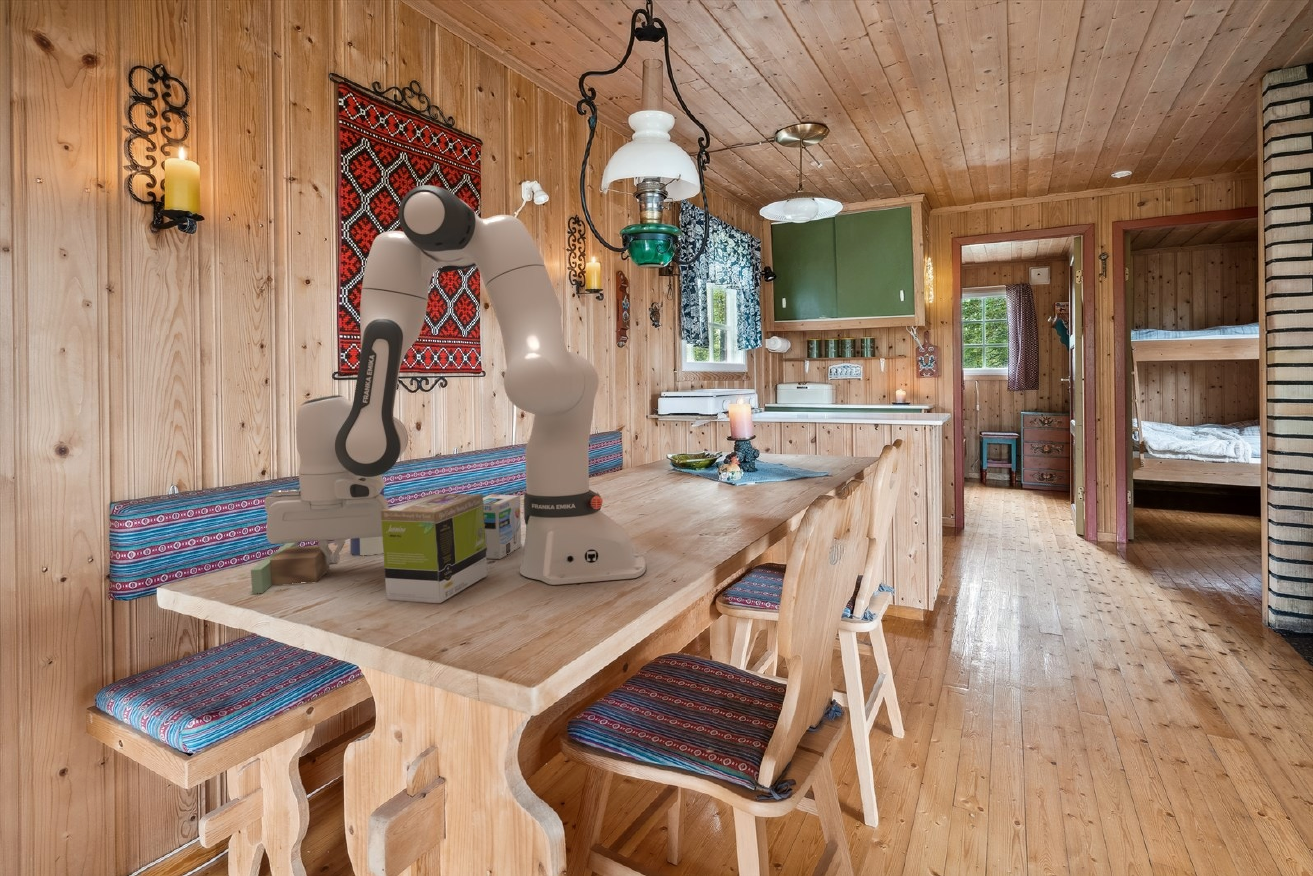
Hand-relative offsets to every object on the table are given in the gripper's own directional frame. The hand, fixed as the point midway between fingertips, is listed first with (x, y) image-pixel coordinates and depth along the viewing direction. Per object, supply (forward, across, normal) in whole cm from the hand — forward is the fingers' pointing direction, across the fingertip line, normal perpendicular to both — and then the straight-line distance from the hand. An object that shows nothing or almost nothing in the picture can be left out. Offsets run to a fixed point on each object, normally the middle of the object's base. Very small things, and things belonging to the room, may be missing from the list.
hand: (333, 563), depth 123 cm
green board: (+2, -9, 0) cm, 9 cm away
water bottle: (+2, +3, +15) cm, 15 cm away
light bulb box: (+2, +28, +7) cm, 29 cm away
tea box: (+2, +20, -14) cm, 24 cm away
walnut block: (+2, -5, -1) cm, 5 cm away
